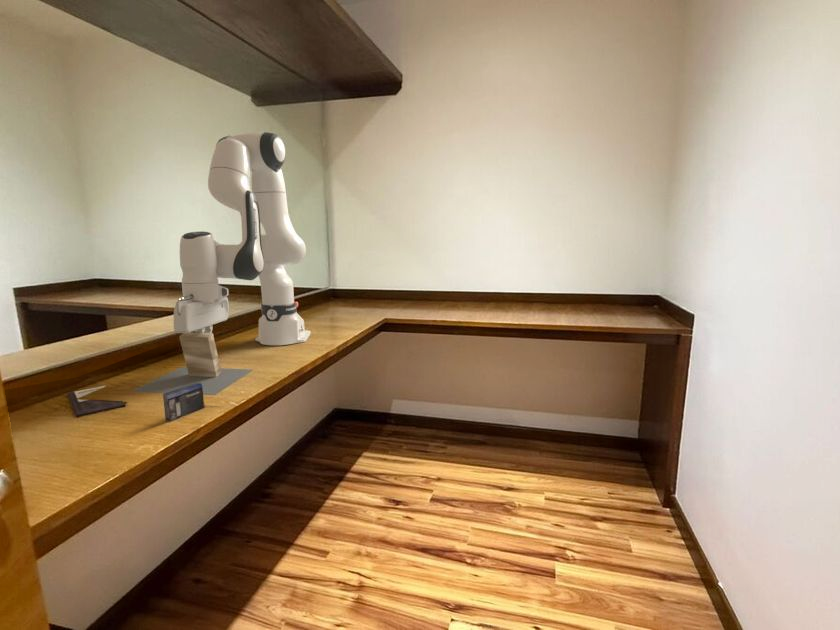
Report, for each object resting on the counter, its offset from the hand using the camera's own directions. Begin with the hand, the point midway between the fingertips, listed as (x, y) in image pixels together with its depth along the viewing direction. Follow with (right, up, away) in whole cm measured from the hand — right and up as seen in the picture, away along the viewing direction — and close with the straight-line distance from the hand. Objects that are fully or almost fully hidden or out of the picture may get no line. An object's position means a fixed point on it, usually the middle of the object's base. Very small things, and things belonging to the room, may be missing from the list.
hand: (204, 342), depth 119 cm
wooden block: (0, -9, 0) cm, 9 cm away
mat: (0, -10, -3) cm, 11 cm away
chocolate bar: (-18, -13, -16) cm, 28 cm away
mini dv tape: (+8, -15, -24) cm, 29 cm away
